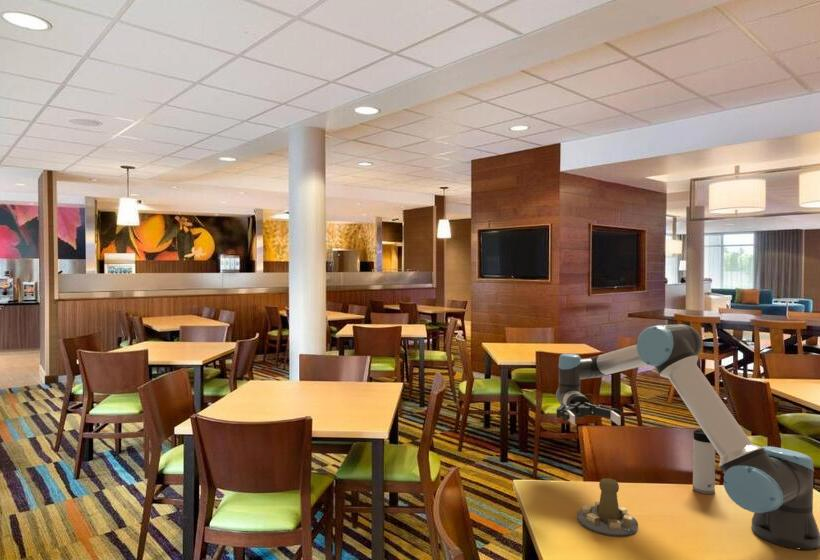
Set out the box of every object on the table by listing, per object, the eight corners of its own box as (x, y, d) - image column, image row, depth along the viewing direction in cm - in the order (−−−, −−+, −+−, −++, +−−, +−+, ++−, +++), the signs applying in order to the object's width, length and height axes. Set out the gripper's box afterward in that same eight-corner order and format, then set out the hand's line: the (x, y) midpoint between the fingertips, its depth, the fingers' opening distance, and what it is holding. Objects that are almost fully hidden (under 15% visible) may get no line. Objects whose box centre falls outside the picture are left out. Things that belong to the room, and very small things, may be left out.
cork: (622, 524, 141) (622, 484, 141) (599, 522, 143) (599, 483, 143) (617, 514, 147) (618, 476, 147) (595, 512, 149) (596, 474, 149)
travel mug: (715, 496, 163) (716, 433, 163) (692, 491, 167) (692, 430, 167) (716, 489, 168) (716, 429, 168) (693, 485, 172) (693, 425, 172)
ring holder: (642, 518, 147) (642, 508, 147) (632, 542, 134) (632, 531, 134) (585, 505, 156) (585, 495, 156) (570, 526, 142) (571, 515, 142)
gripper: (613, 415, 175) (638, 433, 154) (540, 414, 176) (554, 432, 155) (613, 393, 175) (638, 408, 154) (540, 392, 177) (554, 407, 155)
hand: (596, 420), depth 155 cm, fingers open, 13 cm apart
